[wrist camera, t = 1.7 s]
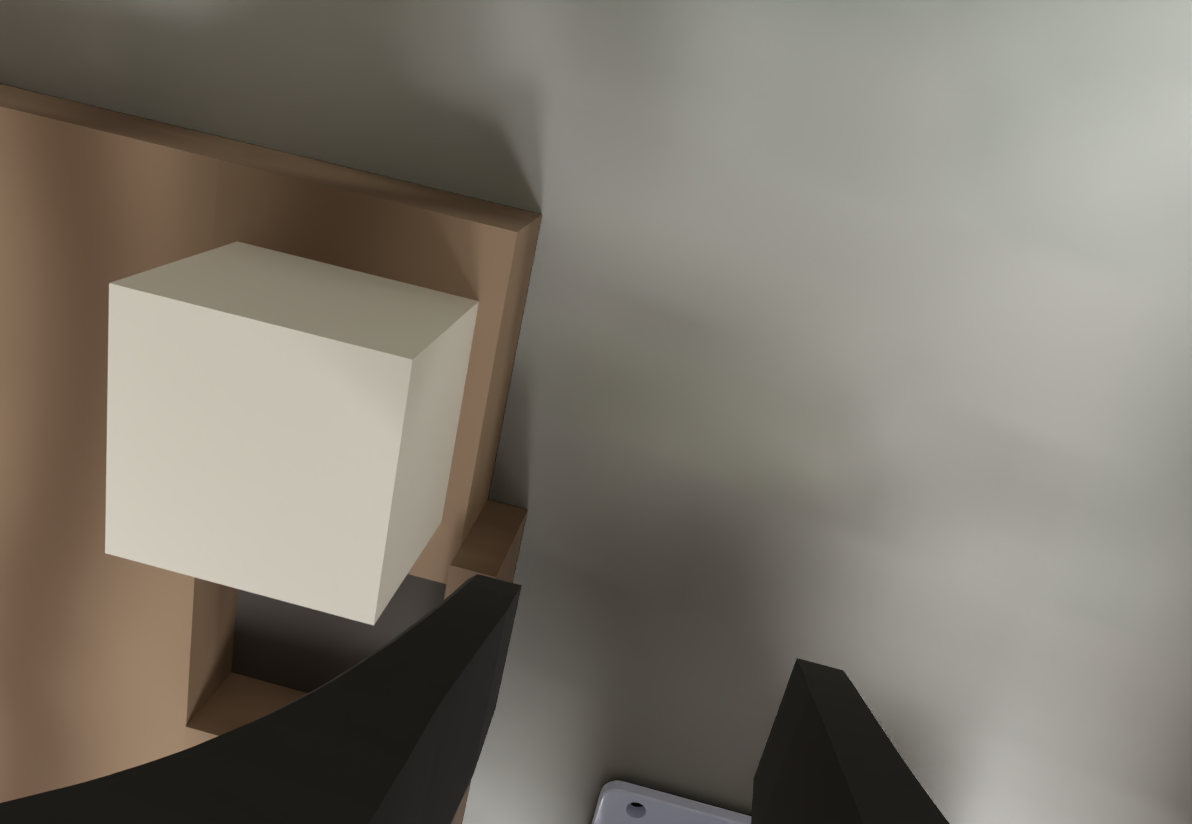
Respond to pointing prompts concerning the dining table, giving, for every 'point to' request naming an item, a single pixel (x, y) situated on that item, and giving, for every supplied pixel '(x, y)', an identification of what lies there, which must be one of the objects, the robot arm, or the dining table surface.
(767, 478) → the dining table surface
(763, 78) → the dining table surface
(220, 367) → the block
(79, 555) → the trap box
